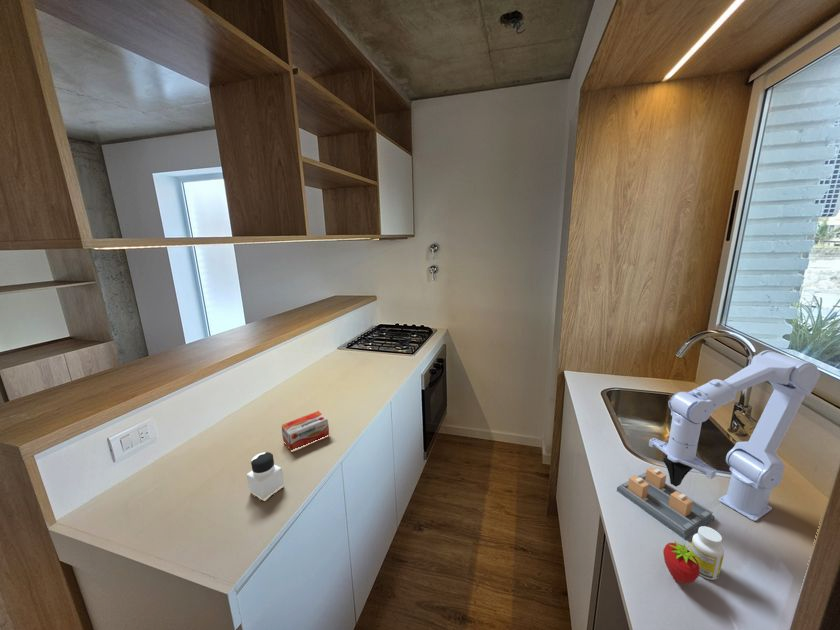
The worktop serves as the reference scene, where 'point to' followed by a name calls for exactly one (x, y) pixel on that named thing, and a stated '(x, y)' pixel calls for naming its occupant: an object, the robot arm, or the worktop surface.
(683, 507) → the tan box with strip
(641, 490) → the orange box
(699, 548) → the supplement bottle
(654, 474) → the cardboard box
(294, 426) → the medicine box
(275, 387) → the worktop surface
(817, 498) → the worktop surface
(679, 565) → the strawberry
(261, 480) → the medicine bottle
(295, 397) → the worktop surface
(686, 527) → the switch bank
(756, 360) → the robot arm
